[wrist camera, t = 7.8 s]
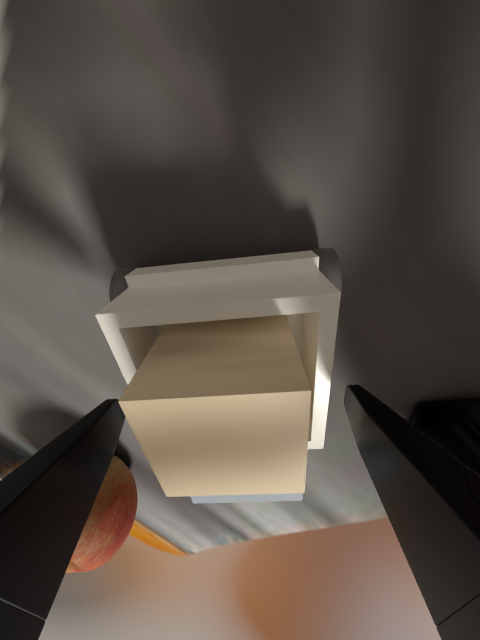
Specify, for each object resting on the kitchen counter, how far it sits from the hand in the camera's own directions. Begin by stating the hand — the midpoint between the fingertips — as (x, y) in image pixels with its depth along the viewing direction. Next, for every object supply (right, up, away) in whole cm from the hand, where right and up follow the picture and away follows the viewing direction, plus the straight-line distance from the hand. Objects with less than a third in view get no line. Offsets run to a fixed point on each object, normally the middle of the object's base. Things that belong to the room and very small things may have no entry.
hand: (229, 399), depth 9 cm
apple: (-12, -10, +12) cm, 20 cm away
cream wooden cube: (0, +1, +2) cm, 3 cm away
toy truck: (0, +1, +6) cm, 6 cm away
